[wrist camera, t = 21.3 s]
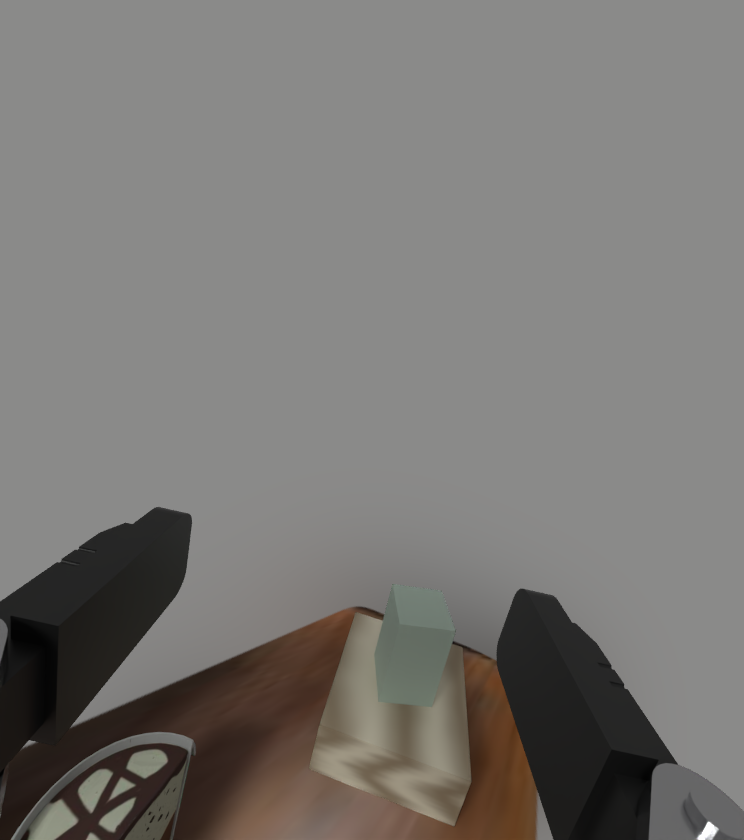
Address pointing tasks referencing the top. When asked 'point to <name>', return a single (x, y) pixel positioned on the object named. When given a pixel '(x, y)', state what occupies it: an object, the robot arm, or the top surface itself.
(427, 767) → the birch block
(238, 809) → the top surface
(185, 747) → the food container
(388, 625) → the sage block
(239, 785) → the top surface
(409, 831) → the top surface
